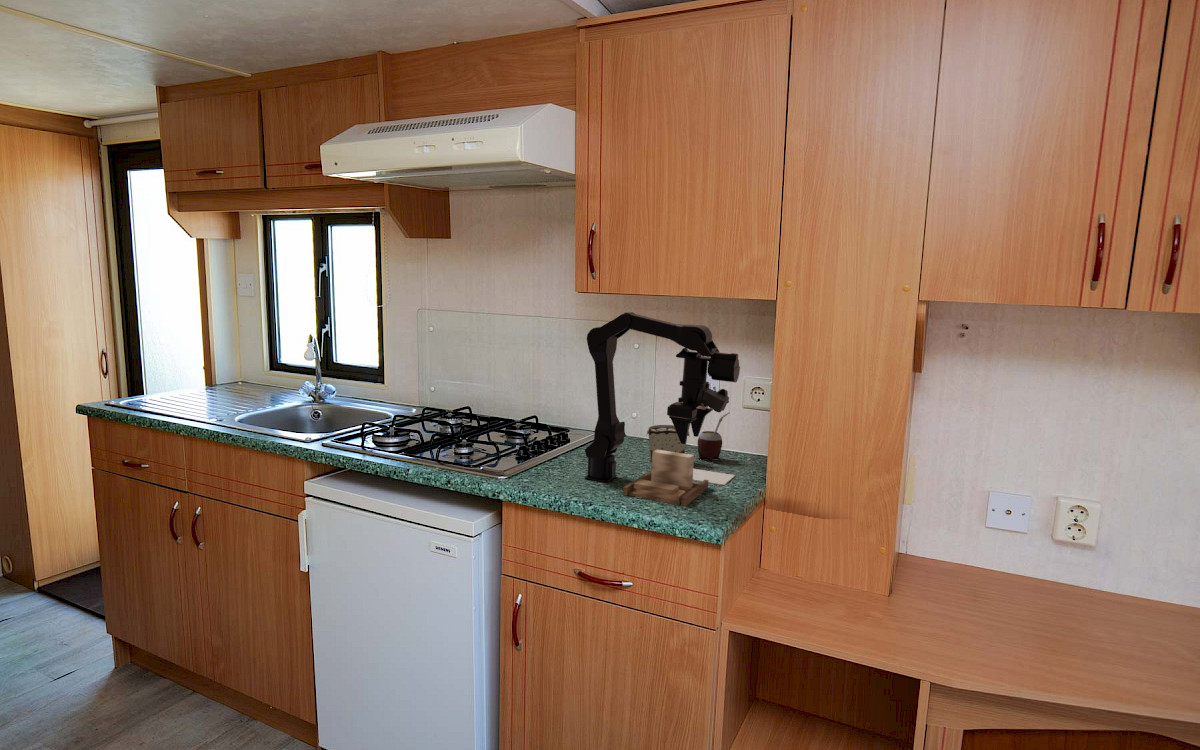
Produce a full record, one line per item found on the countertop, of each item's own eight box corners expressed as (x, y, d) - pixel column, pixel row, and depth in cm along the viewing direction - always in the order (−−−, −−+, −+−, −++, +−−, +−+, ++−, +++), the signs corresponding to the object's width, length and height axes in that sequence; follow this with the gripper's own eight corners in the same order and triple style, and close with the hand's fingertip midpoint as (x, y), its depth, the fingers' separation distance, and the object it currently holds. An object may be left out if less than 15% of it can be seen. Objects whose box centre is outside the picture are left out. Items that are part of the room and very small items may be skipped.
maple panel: (650, 486, 180) (652, 451, 179) (655, 483, 183) (656, 449, 182) (688, 492, 176) (689, 457, 175) (692, 489, 179) (694, 455, 177)
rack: (622, 495, 172) (623, 487, 172) (649, 478, 187) (650, 470, 187) (685, 506, 165) (685, 498, 165) (708, 487, 180) (708, 480, 180)
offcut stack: (629, 497, 172) (629, 483, 172) (637, 491, 177) (637, 477, 176) (679, 506, 166) (680, 492, 166) (686, 500, 171) (687, 486, 170)
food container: (685, 458, 209) (686, 424, 207) (688, 463, 203) (690, 429, 201) (643, 457, 208) (644, 424, 207) (645, 463, 202) (646, 428, 201)
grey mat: (680, 478, 188) (680, 477, 188) (692, 469, 197) (692, 468, 197) (724, 485, 183) (724, 484, 183) (734, 476, 191) (735, 475, 191)
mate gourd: (694, 456, 211) (697, 407, 209) (720, 456, 212) (723, 407, 210) (700, 463, 204) (703, 412, 202) (727, 463, 205) (730, 412, 202)
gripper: (714, 386, 160) (709, 453, 163) (737, 377, 177) (732, 438, 179) (668, 380, 165) (663, 445, 168) (695, 371, 182) (690, 431, 184)
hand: (689, 440), depth 175 cm, fingers open, 9 cm apart
